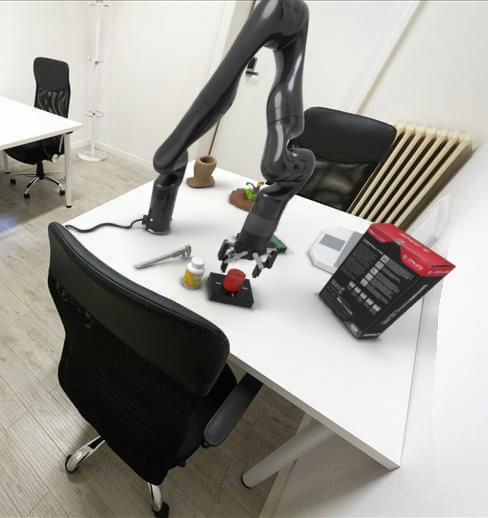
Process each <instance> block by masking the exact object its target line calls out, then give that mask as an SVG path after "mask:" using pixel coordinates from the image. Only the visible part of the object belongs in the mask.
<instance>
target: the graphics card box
mask: <svg viewBox="0 0 488 518" xmlns="http://www.w3.org/2000/svg"><path fill="white" fill-rule="evenodd" d="M362 234H363V236H362V237H361V238H360V240H359V241H358V242H357V244H356V245H355V246H354V248H353V249H352V250H351V252H350V253H349V254H348V256H347V257H346V258H345V260H344V261H343V262H342V263H341V265H340V266H339V267H338V269H337V270H336V271H335V273H334V274H332V275H331V276H330V278H329V279H328V280H327V281H326V283H325V285H324V286H323V287H322V289H321V290H320V291H319V292H318V296H319V297H320V299H322V300H323V302H324V303H325V304H326V305H327V306H328V307H329V308H330V309H331V311H332V312H333V313H334V315H335V316H337V318H338V319H339V320H340V321H341V323H342V324H343V325H344V326H345V327H346V328H347V330H348V331H349V332H350V333H351V334H352V335H353V337H354V338H356V339H358V340H359V339H376V338H379V337H380V336H381V335H382V334H384V332H386V331H387V329H389V328H390V327H391V326H392V325H393V324H394V323H395V322H397V321H398V320H399V319H400V318H401V317H402V316H403V315H404V314H405V313H406V312H407V311H409V309H411V308H412V307H413V306H414V305H415V304H417V302H419V301H420V300H421V299H422V298H423V297H424V296H425V295H427V293H429V292H430V291H431V290H432V289H433V288H434V287H435V286H436V285H437V284H438V283H440V282H441V281H442V280H443V279H444V278H446V276H448V275H449V274H450V273H451V272H452V271H453V270H455V269H456V267H457V266H456V265H455V264H454V263H452V262H451V261H449V260H448V259H446V258H445V257H443V256H442V255H440V254H439V253H438V252H436V251H434V250H432V249H431V248H430V249H429V248H428V247H426V246H425V245H423V244H422V243H420V242H419V241H417V240H416V239H414V238H413V237H411V236H410V235H409V233H407V232H405V230H402V229H401V228H399V227H398V226H397V225H395V224H393V223H389V222H372V223H370V224H369V226H368V227H367V229H366V230H365V232H364V233H362Z"/></svg>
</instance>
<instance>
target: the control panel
mask: <svg viewBox="0 0 488 518" xmlns="http://www.w3.org/2000/svg"><path fill="white" fill-rule="evenodd" d="M226 275H227V274H225V273H220V272H214V271H209V275H208V278H207V286H208V287H207V288H208V301H211V302H216V303H222V304H225V305H232V306H236V307H241V308H245V309H252V307H253V305H254V303H255V298H254V295H253V288H252V285H251V280H250V279H249V278H245V280H244V282H243V284H242V286H241V288H240V290H239V291H237V292H232V291H229V290H227V289H226V288H225V287H224V286H223V282H224V280H225V277H226Z"/></svg>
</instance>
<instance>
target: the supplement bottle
mask: <svg viewBox="0 0 488 518" xmlns="http://www.w3.org/2000/svg"><path fill="white" fill-rule="evenodd" d="M205 265H206V260H205V259H204V257H202V256H193V257H192V258H191V260H190V261H189V262H188V264H186V269H185V271H184V275H183V277H182V285H184V286H185V287H186V288H187V289H191V290H195V289H198V288H199V287H200V285H201V283H202V279H203V277H204V274H205V272H206V267H205Z"/></svg>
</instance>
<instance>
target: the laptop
mask: <svg viewBox="0 0 488 518" xmlns="http://www.w3.org/2000/svg"><path fill="white" fill-rule="evenodd" d="M452 204H453V196H452V195H451V194H450V193H448V194H446V195H444V196H442V197H440V198H439V199H438V201H437V202H436V203H435V204H433V206H432V207H431V208H430V209H429V211H428V212H427V213H426V214H425V215H424V216H423V218H422V219H421V220H420V221H419V222H418V223H417V224H416V225H415V227H414V228H413V229H412V230H411V231H410V232H409V233H408V235H410V236H411V237H413V238H414V239H416V240H417V241H419V242H420V243H422V244H423V245H425V246H426V247H428V248H429V249H431V248H432V247H434V245H435V244H436V243H437V242H438V241H439V240H440V239H441V237H442V235H443V234H444V231H445V230H446V228H447V227H448V225H449V223H450V221H451V216H452V206H453V205H452ZM363 234H364V233H361V232H358V231H356V230H353V229H350V228H347V227H344V226H342V225H337V226H330V227H326V228H325V229H324V230H323V231H322V233H321V234H320V236H319V237H318V238H317V239H316V240H315V242H314V243H313V245H312V246H311V247H310V250H309V253H308V254H309V256H310V258H311V261H312V263H313V265H314V267H317V268H319V269H321V270H323V271H326V272H328V273H331V274H332V275H333V274H334V273H335V271H336V270H337V269H338V267H339V266H340V265H341V263H342V262H343V261H344V260H345V258H346V257H347V256H348V254H349V253H350V252H351V250H352V249H353V248H354V246H355V245H356V244H357V242H358V241H359V240H360V238H361V237H362V236H363Z"/></svg>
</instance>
